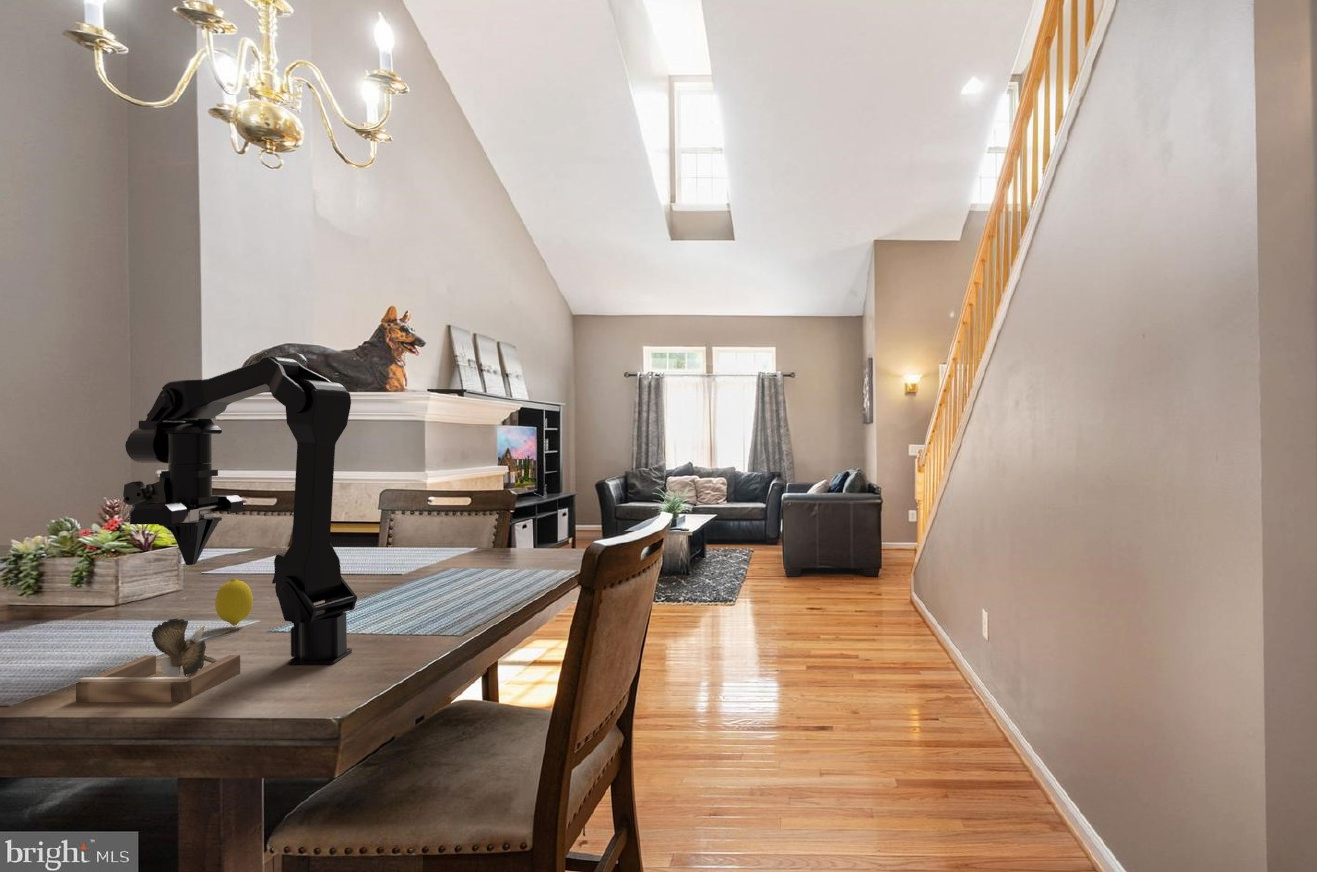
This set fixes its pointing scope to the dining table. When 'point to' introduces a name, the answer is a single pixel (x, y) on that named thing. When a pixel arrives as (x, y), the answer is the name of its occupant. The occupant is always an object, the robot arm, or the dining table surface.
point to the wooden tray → (153, 682)
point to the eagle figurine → (180, 648)
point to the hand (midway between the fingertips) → (190, 564)
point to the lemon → (234, 601)
